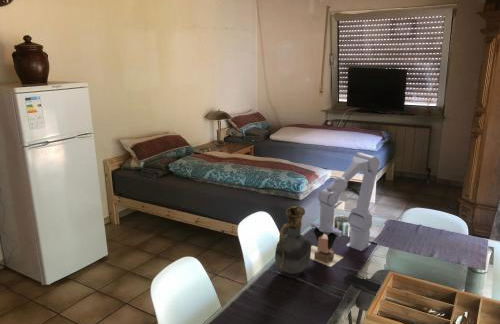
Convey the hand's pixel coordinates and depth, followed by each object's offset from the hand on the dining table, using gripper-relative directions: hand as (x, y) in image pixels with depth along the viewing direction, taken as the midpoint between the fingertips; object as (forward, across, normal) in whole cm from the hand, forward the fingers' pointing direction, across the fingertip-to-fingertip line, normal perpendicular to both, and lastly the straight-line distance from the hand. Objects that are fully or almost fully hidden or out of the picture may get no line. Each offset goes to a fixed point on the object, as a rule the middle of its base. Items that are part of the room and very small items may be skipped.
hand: (324, 246), depth 174 cm
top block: (+2, 0, 0) cm, 2 cm away
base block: (+6, 0, 0) cm, 6 cm away
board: (+6, -2, +1) cm, 7 cm away
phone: (+7, +22, -6) cm, 24 cm away
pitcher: (+6, -3, -20) cm, 21 cm away
